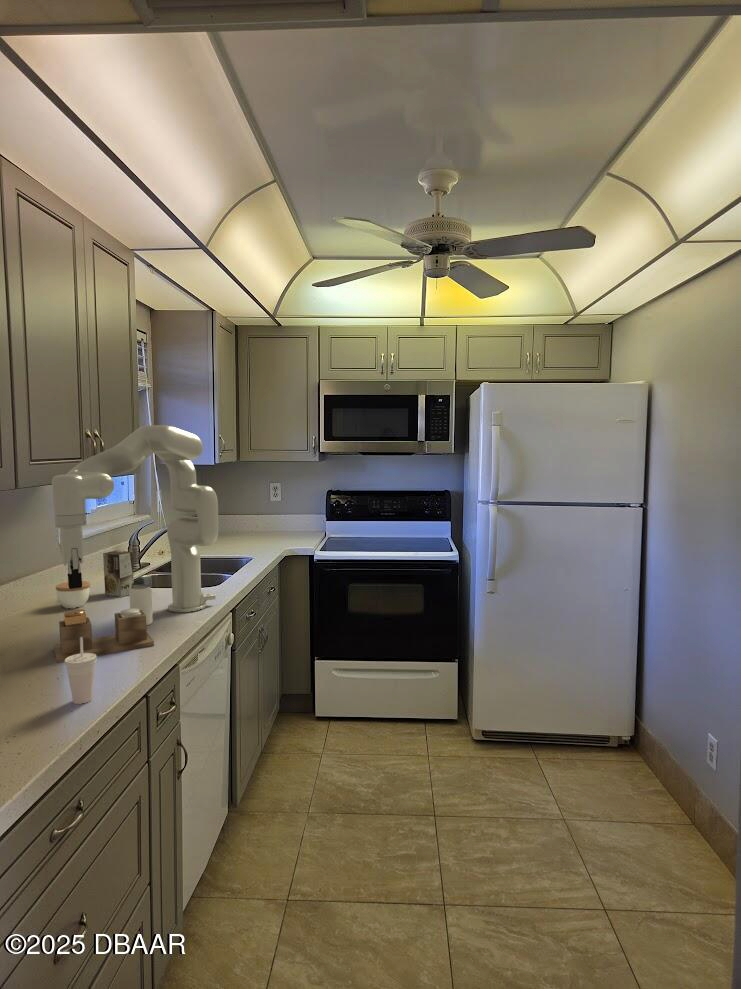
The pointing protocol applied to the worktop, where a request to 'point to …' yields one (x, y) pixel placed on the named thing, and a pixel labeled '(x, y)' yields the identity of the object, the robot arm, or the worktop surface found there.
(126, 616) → the pale plunger
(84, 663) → the smoothie
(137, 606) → the can
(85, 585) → the lidded jar
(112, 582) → the coffee box
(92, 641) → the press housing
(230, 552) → the worktop surface
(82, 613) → the copper plunger
